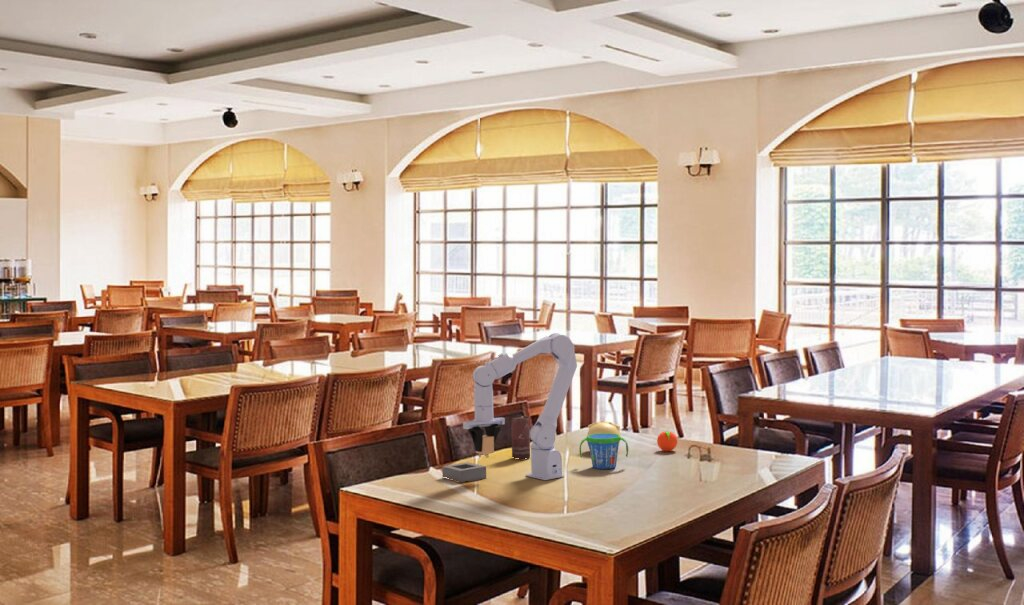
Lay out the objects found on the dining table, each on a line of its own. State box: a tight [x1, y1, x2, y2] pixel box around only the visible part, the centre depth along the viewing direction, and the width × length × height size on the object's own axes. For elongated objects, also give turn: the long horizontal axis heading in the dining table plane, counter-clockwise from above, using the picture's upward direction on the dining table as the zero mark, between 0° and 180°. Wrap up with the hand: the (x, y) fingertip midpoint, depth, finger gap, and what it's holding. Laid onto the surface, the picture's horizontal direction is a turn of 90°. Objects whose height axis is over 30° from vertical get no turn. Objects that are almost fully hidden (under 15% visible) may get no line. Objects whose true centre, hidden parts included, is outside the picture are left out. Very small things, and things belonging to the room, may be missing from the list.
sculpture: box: [586, 420, 621, 448], centre depth 343 cm, size 12×12×11 cm
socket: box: [441, 461, 487, 483], centre depth 304 cm, size 10×10×4 cm
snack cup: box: [579, 433, 629, 470], centre depth 315 cm, size 16×10×10 cm
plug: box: [475, 434, 495, 459], centre depth 300 cm, size 4×4×6 cm
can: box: [510, 415, 531, 459], centre depth 334 cm, size 6×6×14 cm
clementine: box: [656, 430, 678, 452], centre depth 341 cm, size 8×7×7 cm
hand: (484, 450), depth 300 cm, fingers closed on plug, 4 cm apart
